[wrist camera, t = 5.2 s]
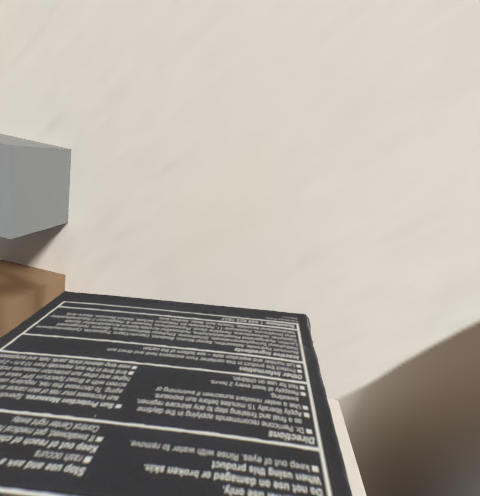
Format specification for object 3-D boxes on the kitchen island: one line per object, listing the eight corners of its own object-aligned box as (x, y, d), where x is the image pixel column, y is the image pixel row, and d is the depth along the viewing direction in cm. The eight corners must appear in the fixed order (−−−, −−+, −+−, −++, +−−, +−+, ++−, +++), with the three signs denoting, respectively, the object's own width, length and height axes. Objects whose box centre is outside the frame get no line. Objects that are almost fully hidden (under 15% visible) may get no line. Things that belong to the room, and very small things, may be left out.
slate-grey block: (1, 207, 22) (-75, 219, 17) (0, 133, 20) (-83, 124, 16) (68, 222, 22) (10, 239, 17) (71, 149, 20) (10, 145, 15)
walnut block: (2, 317, 24) (-63, 356, 20) (2, 259, 23) (-69, 284, 18) (62, 332, 24) (11, 374, 19) (65, 274, 23) (11, 304, 18)
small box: (74, 411, 15) (-327, 934, 5) (60, 286, 13) (-627, 707, 3) (294, 437, 14) (361, 1106, 4) (312, 310, 12) (507, 950, 2)
